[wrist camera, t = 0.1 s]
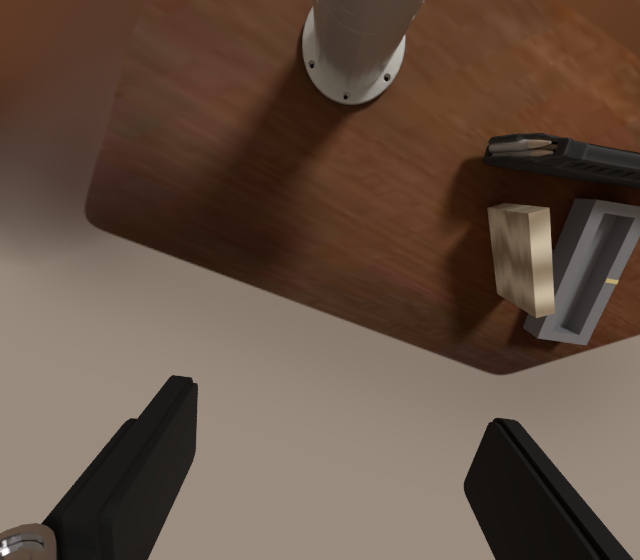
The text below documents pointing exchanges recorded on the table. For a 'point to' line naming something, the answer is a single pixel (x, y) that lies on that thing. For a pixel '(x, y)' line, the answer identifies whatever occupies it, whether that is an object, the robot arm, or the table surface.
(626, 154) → the magazine
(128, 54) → the table surface
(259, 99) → the table surface
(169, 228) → the table surface
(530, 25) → the table surface
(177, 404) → the robot arm
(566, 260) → the gray rectangular tray
